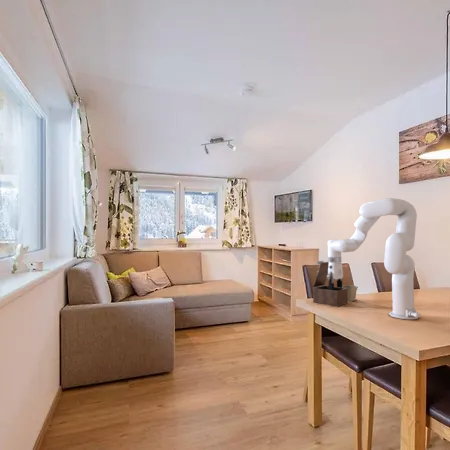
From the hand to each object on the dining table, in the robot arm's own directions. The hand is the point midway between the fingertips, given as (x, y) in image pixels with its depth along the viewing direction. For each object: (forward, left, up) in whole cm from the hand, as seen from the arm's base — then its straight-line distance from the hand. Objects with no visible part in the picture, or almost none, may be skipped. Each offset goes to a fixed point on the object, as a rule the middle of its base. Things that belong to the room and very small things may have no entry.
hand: (335, 288), depth 183 cm
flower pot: (+5, -14, -9) cm, 18 cm away
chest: (+3, +2, -9) cm, 10 cm away
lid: (+7, +3, +8) cm, 11 cm away
